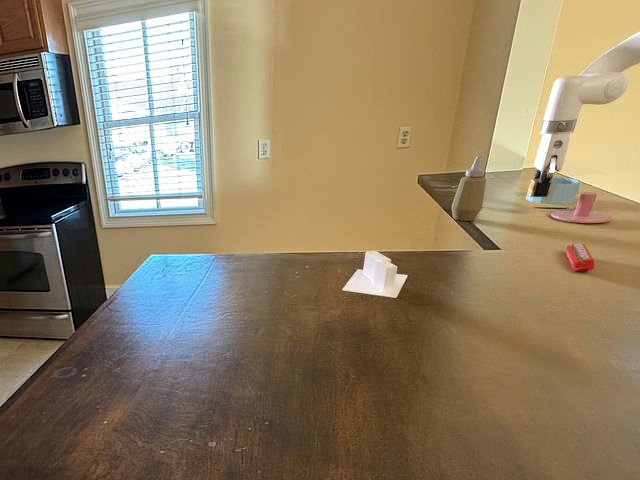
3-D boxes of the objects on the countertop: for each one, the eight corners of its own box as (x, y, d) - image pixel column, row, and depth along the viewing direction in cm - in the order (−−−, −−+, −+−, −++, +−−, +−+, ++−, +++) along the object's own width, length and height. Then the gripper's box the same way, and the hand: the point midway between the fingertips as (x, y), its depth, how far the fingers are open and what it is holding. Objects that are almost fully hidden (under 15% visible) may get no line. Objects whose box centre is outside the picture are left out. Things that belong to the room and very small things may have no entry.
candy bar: (562, 252, 117) (567, 240, 115) (581, 253, 115) (586, 241, 113) (571, 273, 105) (576, 260, 103) (593, 275, 103) (598, 262, 102)
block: (544, 193, 143) (549, 178, 141) (548, 196, 140) (553, 181, 138) (527, 193, 145) (531, 178, 143) (530, 197, 141) (534, 181, 139)
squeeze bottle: (443, 216, 151) (457, 155, 142) (470, 215, 151) (485, 153, 142) (456, 223, 144) (472, 159, 135) (484, 221, 144) (501, 157, 135)
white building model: (356, 269, 116) (360, 245, 113) (408, 274, 110) (413, 250, 108) (341, 290, 105) (344, 265, 102) (397, 298, 100) (402, 272, 97)
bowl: (566, 201, 158) (574, 177, 154) (577, 209, 148) (587, 184, 144) (520, 200, 162) (527, 177, 158) (528, 208, 152) (536, 184, 149)
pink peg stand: (601, 214, 142) (611, 188, 139) (618, 226, 131) (629, 199, 128) (545, 212, 147) (553, 188, 144) (557, 224, 136) (566, 198, 133)
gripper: (584, 129, 125) (560, 201, 134) (566, 123, 138) (546, 188, 147) (549, 131, 128) (528, 201, 137) (534, 125, 141) (517, 189, 150)
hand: (537, 194), depth 142 cm, fingers closed on block, 4 cm apart
